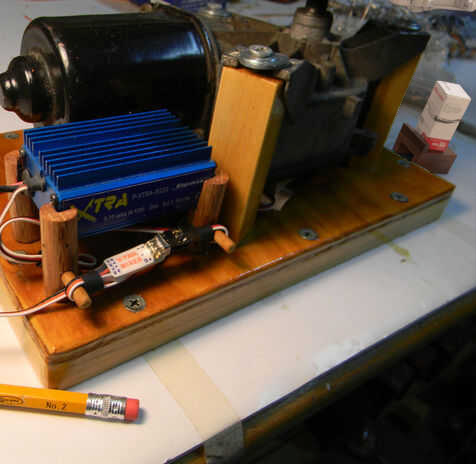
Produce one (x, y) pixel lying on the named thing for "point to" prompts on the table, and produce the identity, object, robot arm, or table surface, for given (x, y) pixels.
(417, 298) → the table surface
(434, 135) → the ink box
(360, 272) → the table surface
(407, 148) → the dark brown wooden box
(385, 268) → the table surface
